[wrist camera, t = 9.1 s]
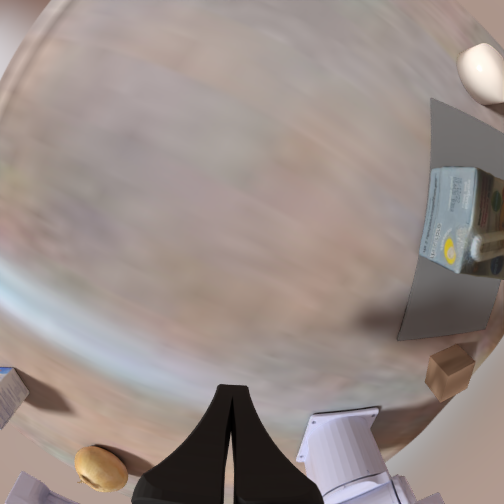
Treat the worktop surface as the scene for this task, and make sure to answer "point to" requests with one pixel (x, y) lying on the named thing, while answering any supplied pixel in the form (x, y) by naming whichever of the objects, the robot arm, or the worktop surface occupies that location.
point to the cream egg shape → (482, 73)
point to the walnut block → (449, 372)
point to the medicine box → (10, 394)
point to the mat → (427, 272)
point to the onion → (100, 469)
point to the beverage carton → (465, 222)
